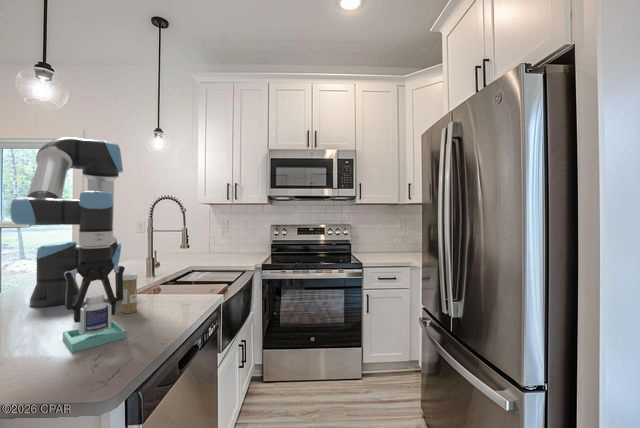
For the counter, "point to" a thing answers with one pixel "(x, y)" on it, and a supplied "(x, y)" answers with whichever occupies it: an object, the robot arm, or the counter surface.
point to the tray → (93, 337)
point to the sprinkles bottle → (129, 292)
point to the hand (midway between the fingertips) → (95, 329)
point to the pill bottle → (95, 314)
